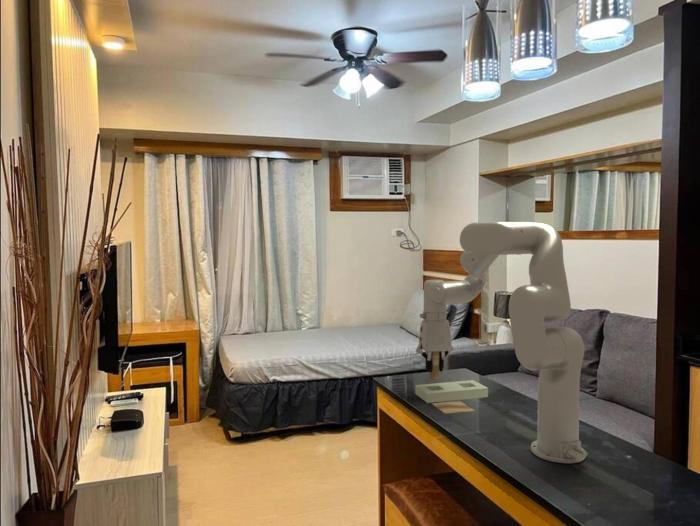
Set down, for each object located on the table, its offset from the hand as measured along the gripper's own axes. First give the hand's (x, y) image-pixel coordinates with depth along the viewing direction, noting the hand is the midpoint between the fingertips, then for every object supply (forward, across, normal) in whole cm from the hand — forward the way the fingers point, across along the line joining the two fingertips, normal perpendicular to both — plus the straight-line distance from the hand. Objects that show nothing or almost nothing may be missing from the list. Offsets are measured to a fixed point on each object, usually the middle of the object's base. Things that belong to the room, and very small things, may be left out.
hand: (434, 370), depth 168 cm
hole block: (+9, +6, 0) cm, 11 cm away
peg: (+3, 0, 0) cm, 3 cm away
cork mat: (+9, +1, -11) cm, 15 cm away
